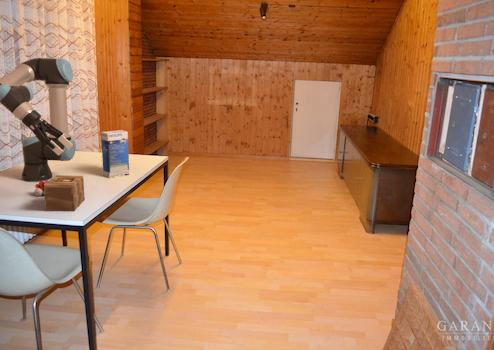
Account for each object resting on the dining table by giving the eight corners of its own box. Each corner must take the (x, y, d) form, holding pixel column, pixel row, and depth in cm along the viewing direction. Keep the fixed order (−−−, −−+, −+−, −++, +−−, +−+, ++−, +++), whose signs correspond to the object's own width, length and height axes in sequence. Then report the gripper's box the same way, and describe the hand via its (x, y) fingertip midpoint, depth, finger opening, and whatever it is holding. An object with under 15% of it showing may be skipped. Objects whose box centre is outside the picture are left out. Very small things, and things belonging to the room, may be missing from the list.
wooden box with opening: (58, 199, 200) (56, 175, 197) (84, 200, 201) (83, 175, 198) (45, 211, 185) (43, 184, 182) (74, 211, 186) (72, 185, 183)
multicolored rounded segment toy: (39, 191, 211) (37, 177, 209) (59, 192, 212) (58, 178, 210) (31, 197, 203) (30, 182, 201) (52, 197, 204) (51, 182, 202)
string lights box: (123, 172, 254) (121, 129, 248) (130, 174, 249) (128, 131, 243) (102, 175, 245) (100, 131, 238) (109, 178, 240) (107, 133, 233)
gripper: (33, 117, 194) (69, 150, 199) (8, 125, 170) (50, 162, 175) (44, 106, 193) (80, 139, 198) (21, 112, 169) (62, 150, 174)
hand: (66, 150), depth 187 cm, fingers open, 13 cm apart
